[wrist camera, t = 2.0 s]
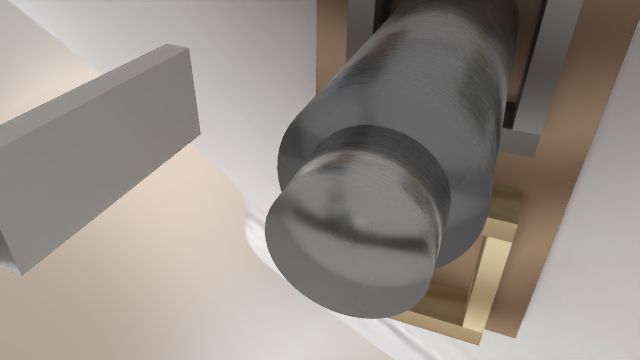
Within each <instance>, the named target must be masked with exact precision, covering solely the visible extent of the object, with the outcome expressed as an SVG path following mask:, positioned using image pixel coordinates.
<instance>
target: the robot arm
mask: <svg viewBox="0 0 640 360" xmlns="http://www.w3.org/2000/svg"><path fill="white" fill-rule="evenodd" d="M199 135H200V126H199V119H198V112H197V104H196V97H195V90H194V82H193V75H192V68H191V60H190V53H189V48H186V47H180V46H174V45H168V44H165V45H163V46H161V47H159V48H157V49H155V50H153V51H151V52H149V53H147V54H145V55H143V56H141V57H139V58H137V59H135V60H132V61H130V62H128V63H126V64H124V65H122V66H120V67H118V68H116V69H114V70H112V71H110V72H108V73H106V74H104V75H102V76H100V77H98V78H96V79H94V80H92V81H90V82H87V83H86V84H83V85H81V86H79V87H77V88H75V89H73V90H71V91H69V92H67V93H65V94H63V95H61V96H59V97H57V98H55V99H52V100H51V101H49V102H46V103H44V104H42V105H40V106H38V107H36V108H34V109H32V110H30V111H28V112H26V113H24V114H22V115H20V116H18V117H16V118H14V119H12V120H9V121H8V122H5V123H3V124H1V125H0V268H2V269H5V270H8V271H10V272H13V273H15V274H18V275H21V276H22V275H24V274H25V273H26V272H27V271H29V270H30V269H31V268H32V267H33V266H35V265H36V264H37V263H39V262H40V261H41V260H42V259H44V258H45V257H46V256H47V255H49V254H50V253H51V252H52V251H53V250H55V249H56V248H57V247H59V246H60V245H61V244H63V243H64V242H65V241H66V240H68V239H69V238H70V237H71V236H73V235H74V234H75V233H76V232H78V231H79V230H80V229H81V228H83V227H84V226H85V225H87V224H88V223H89V222H90V221H92V220H93V219H94V218H95V217H97V216H98V215H99V214H100V213H102V212H103V211H104V210H105V209H107V208H108V207H109V206H110V205H112V204H113V203H114V202H115V201H117V200H118V199H119V198H121V197H122V196H123V195H124V194H126V193H127V192H128V191H129V190H131V189H132V188H133V187H134V186H136V185H137V184H138V183H139V182H141V181H142V180H143V179H144V178H146V177H147V176H148V175H149V174H151V173H152V172H153V171H154V170H156V169H157V168H158V167H159V166H161V165H162V164H163V163H165V162H166V161H167V160H168V159H170V158H171V157H172V156H174V155H175V154H176V153H177V152H179V151H180V150H181V149H182V148H184V147H185V146H186V145H187V144H189V143H190V142H191V141H192V140H194V139H195V138H196V137H197V136H199Z"/></svg>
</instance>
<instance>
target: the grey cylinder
mask: <svg viewBox="0 0 640 360" xmlns="http://www.w3.org/2000/svg"><path fill="white" fill-rule="evenodd" d="M518 26H519V13H518V7H517V3H516V0H405V1H404V2H403V3H402V4H401V5H400V6H399V7H398V9H397V10H396V11H395V12H394V13H393V14H392V15H391V16H390V17H389V18H388V19H387V20H386V21H385V22H384V23H383V25H382V26H381V27H380V28H379V29H378V30H377V31H376V32H375V33H374V34H373V35H372V36H371V37H370V38H369V40H368V41H367V42H366V43H365V44H364V45H363V46H362V47H361V48H360V49H359V50H358V51H357V52H356V53H355V54H354V56H353V57H352V58H351V59H350V60H349V61H348V62H347V63H346V64H345V65H344V66H343V67H342V68H341V69H340V71H339V72H338V73H337V74H336V75H335V76H334V77H333V78H332V79H331V80H330V81H329V82H328V83H327V84H326V85H325V87H324V88H323V89H322V90H321V91H320V92H319V93H318V94H317V95H316V96H315V97H314V98H313V99H312V100H311V102H310V103H309V104H308V105H307V106H306V107H305V108H304V109H303V110H302V111H301V112H300V113H299V114H298V115H297V116H296V118H295V119H294V120H293V122H292V123H291V124H290V125H289V127H288V129H287V131H286V132H285V134H284V136H283V139H282V142H281V145H280V148H279V154H278V166H277V169H278V178H279V183H280V187H281V191H282V193H281V194H280V195H279V197H278V198H277V199H276V200H275V202H274V203H273V205H272V206H271V208H270V210H269V212H268V215H267V218H266V223H265V237H266V243H267V247H268V250H269V252H270V255H271V257H272V259H273V261H274V263H275V264H276V266H277V268H278V269H279V270H280V272H281V273H282V275H283V276H284V277H285V278H286V279H287V280H288V281H289V282H290V283H291V284H292V285H293V286H294V287H295V288H296V289H297V290H299V291H300V292H301V293H302V294H303V295H305V296H306V297H308V298H309V299H311V300H312V301H314V302H316V303H317V304H319V305H321V306H323V307H325V308H327V309H330V310H332V311H335V312H338V313H340V314H344V315H348V316H352V317H358V318H368V319H376V318H386V317H391V316H395V315H399V314H401V313H403V312H406V311H407V310H409V309H411V308H412V307H414V306H415V305H416V304H417V303H418V302H420V300H421V299H422V298H423V297H424V295H425V294H426V292H427V290H428V288H429V285H430V282H431V278H432V275H433V271H434V269H437V268H440V267H442V266H444V265H446V264H449V263H451V262H452V261H454V260H456V259H457V258H459V257H460V256H462V255H463V254H464V253H465V252H466V251H467V250H468V249H470V247H471V246H472V245H473V244H474V243H475V241H476V240H477V239H478V237H479V235H480V234H481V232H482V230H483V228H484V225H485V223H486V220H487V217H488V212H489V206H490V200H491V194H492V188H493V181H494V175H495V169H496V163H497V156H498V150H499V144H500V138H501V132H502V125H503V119H504V113H505V107H506V100H507V94H508V88H509V82H510V76H511V69H512V63H513V57H514V51H515V45H516V38H517V32H518Z"/></svg>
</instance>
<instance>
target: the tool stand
mask: <svg viewBox="0 0 640 360" xmlns="http://www.w3.org/2000/svg"><path fill="white" fill-rule="evenodd" d="M404 1H405V0H317V60H316V95H317V94H318V93H319V92H320V91H321V90H322V89H323V88H324V87H325V85H326V84H327V83H328V82H329V81H330V80H331V79H332V78H333V77H334V76H335V75H336V74H337V73H338V72H339V71H340V69H341V68H342V67H343V66H344V65H345V64H346V63H347V62H348V61H349V60H350V59H351V58H352V57H353V56H354V54H355V53H356V52H357V51H358V50H359V49H360V48H361V47H362V46H363V45H364V44H365V43H366V42H367V41H368V40H369V38H370V37H371V36H372V35H373V34H374V33H375V32H376V31H377V30H378V29H379V28H380V27H381V26H382V25H383V23H384V22H385V21H386V20H387V19H388V18H389V17H390V16H391V15H392V14H393V13H394V12H395V11H396V10H397V9H398V7H399V6H400V5H401V4H402V3H403V2H404ZM516 3H517V7H518V13H519V26H518V32H517V38H516V45H515V51H514V57H513V63H512V69H511V76H510V82H509V88H508V94H507V100H506V107H505V113H504V119H503V125H502V132H501V138H500V144H499V150H498V156H497V163H496V169H495V175H494V181H493V188H492V194H491V200H490V206H489V212H488V217H487V220H486V223H485V225H484V228H483V230H482V232H481V234H480V235H479V237H478V239H477V240H476V241H475V243H474V244H473V245H472V246H471V247H470V249H468V250H467V251H466V252H465V253H464V254H463V255H462V256H460V257H459V258H457V259H456V260H454V261H452V262H451V263H449V264H446V265H444V266H442V267H440V268H437V269H434V271H433V275H432V278H431V282H430V285H429V288H428V290H427V292H426V294H425V295H424V297H423V298H422V299H421V300H420V302H418V303H417V304H416V305H415V306H414V307H412V308H411V309H409V310H407V311H406V312H403V313H401V314H399V315H395V316H391V317H388V318H391V319H394V320H397V321H401V322H404V323H407V324H410V325H414V326H417V327H420V328H423V329H427V330H430V331H433V332H436V333H440V334H443V335H446V336H449V337H452V338H456V339H459V340H462V341H465V342H469V343H472V344H475V345H478V346H479V343H480V340H481V337H482V334H483V331H484V329H486V330H489V331H493V332H496V333H499V334H503V335H506V336H509V337H513V338H516V335H517V333H518V330H519V327H520V325H521V322H522V320H523V317H524V315H525V312H526V309H527V307H528V304H529V302H530V299H531V297H532V294H533V291H534V289H535V286H536V284H537V281H538V279H539V276H540V273H541V271H542V268H543V266H544V263H545V261H546V258H547V255H548V253H549V250H550V248H551V245H552V243H553V240H554V237H555V235H556V232H557V230H558V227H559V224H560V222H561V219H562V217H563V214H564V212H565V209H566V206H567V204H568V201H569V199H570V196H571V194H572V191H573V188H574V186H575V183H576V181H577V178H578V176H579V173H580V170H581V168H582V165H583V163H584V160H585V158H586V155H587V152H588V150H589V147H590V145H591V142H592V139H593V137H594V134H595V132H596V129H597V127H598V124H599V121H600V119H601V116H602V114H603V111H604V109H605V106H606V103H607V101H608V98H609V96H610V93H611V91H612V88H613V85H614V83H615V80H616V78H617V75H618V73H619V70H620V67H621V65H622V62H623V60H624V57H625V55H626V52H627V49H628V47H629V44H630V42H631V39H632V36H633V34H634V31H635V29H636V26H637V24H638V21H639V18H640V0H516Z"/></svg>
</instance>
